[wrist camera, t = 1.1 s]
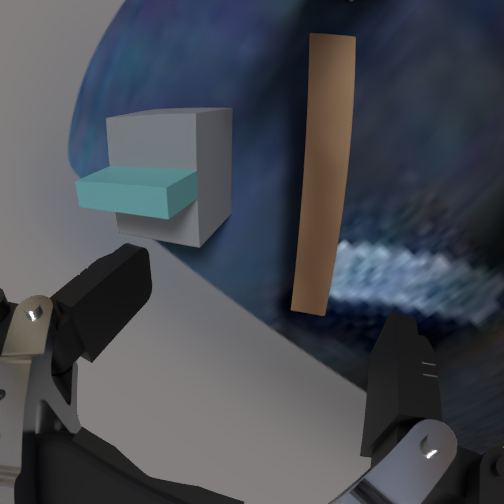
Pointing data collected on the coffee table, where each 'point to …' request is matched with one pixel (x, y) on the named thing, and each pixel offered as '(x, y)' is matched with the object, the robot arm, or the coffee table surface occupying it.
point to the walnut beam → (324, 167)
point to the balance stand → (166, 174)
